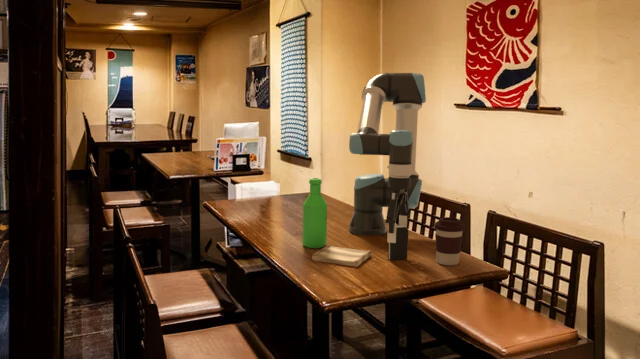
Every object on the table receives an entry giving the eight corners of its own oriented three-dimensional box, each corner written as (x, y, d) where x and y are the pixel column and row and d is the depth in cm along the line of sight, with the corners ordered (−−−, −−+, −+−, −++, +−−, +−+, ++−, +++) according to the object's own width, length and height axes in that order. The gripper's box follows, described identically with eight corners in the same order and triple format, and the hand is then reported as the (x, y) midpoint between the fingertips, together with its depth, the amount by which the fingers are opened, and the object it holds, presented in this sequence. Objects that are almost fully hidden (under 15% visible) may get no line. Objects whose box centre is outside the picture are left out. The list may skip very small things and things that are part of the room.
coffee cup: (426, 259, 197) (429, 217, 194) (451, 257, 200) (454, 215, 198) (442, 268, 188) (445, 223, 185) (468, 265, 191) (471, 221, 189)
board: (328, 249, 207) (328, 244, 207) (370, 255, 201) (370, 250, 200) (312, 260, 194) (312, 254, 194) (356, 266, 188) (357, 261, 188)
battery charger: (402, 256, 201) (404, 224, 199) (408, 259, 198) (409, 226, 196) (384, 257, 199) (385, 225, 197) (389, 260, 195) (391, 228, 193)
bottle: (299, 247, 209) (300, 179, 205) (306, 241, 217) (306, 176, 213) (323, 249, 207) (324, 181, 203) (328, 243, 215) (330, 177, 211)
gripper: (398, 171, 206) (396, 229, 209) (377, 180, 184) (375, 244, 187) (419, 172, 203) (416, 231, 206) (400, 181, 181) (397, 247, 184)
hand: (397, 238), depth 196 cm, fingers open, 13 cm apart
